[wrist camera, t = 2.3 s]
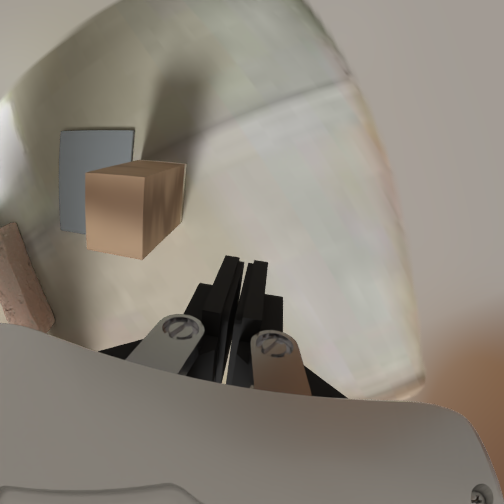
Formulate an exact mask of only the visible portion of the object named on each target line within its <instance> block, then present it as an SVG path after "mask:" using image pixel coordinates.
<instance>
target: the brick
mask: <svg viewBox="0 0 504 504" xmlns="http://www.w3.org/2000/svg"><path fill="white" fill-rule="evenodd" d="M0 303H1V304H2V307H3V311H4V314H5V316H6V319H7V321H8V323H9V324H15V325H20V326H25V327H28V328H32V329H35V330H38V331H41V332H44V333H47V332H48V331H49V330H50V328H51V326H52V325H53V324H54V322H55V319H54V316H53V313H52V311H51V308H50V306H49V304H48V303H47V301H46V296H45V295H44V294H43V290H42V288H41V286H40V283H39V281H38V278H37V276H36V274H35V271H34V269H33V267H32V265H31V262H30V259H29V256H28V254H27V252H26V248H25V245H24V242H23V240H22V238H21V235H20V232H19V229H18V226H17V224H16V223H14V222H13V223H9V224H8V225H5V226H3V227H1V228H0Z"/></svg>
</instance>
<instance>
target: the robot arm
mask: <svg viewBox="0 0 504 504" xmlns="http://www.w3.org/2000/svg"><path fill="white" fill-rule="evenodd" d="M267 267H268V262H263V261H257V260H254V264H252V263H248V267H247V271H246V275H245V279H244V283H243V287H242V291H241V295H240V289H241V282H242V275H243V268H244V262H240V261H239V258H238V257H232V256H225V258H224V260H223V263H222V265H221V267H220V270H219V272H218V274H217V277H216V279H215V281H214V283H213V285H209V284H203V283H200V284H199V285H198V287H197V289H196V291H195V293H194V295H193V297H192V299H191V301H190V303H189V305H188V307H187V308H186V310H185V312H184V314H174V315H169V316H167V317H164V318H163V319H162V320H160V321H159V322H158V323H157V325H156V326H155V327H154V328H153V329H152V330H151V331H150V332H149V334H148V335H147V336H146V337H145V338H144V339H142V340H138V341H135V342H131V343H127V344H124V345H120V346H116V347H113V348H109V349H105V350H101V351H98V352H97V351H94V350H91V349H88V348H85V347H82V346H80V345H77V344H74V343H71V342H69V341H66V340H63V339H60V338H58V337H55V336H52V335H49V334H46V333H44V332H41V331H38V330H35V329H32V328H28V327H25V326H20V325H15V324H6V323H0V504H504V499H503V496H502V492H501V489H500V485H499V482H498V479H497V476H496V474H495V471H494V468H493V466H492V463H491V460H490V458H489V455H488V453H487V451H486V449H485V447H484V445H483V443H482V441H481V439H480V437H479V435H478V433H477V432H476V430H475V429H474V427H473V426H472V424H471V423H470V422H469V421H468V420H467V419H466V418H465V417H464V416H463V415H461V414H459V413H458V412H456V411H453V410H451V409H448V408H445V407H441V406H438V405H434V404H427V403H422V402H412V401H393V400H369V399H348V398H347V397H345V396H344V395H343V394H341V393H340V392H339V391H337V390H336V389H335V388H333V387H332V386H331V385H329V384H328V383H327V382H325V381H324V380H322V379H321V378H320V377H319V376H317V375H316V374H315V373H313V372H312V371H311V370H309V369H308V368H307V367H305V366H304V365H303V361H302V357H301V354H300V350H299V347H298V344H297V342H296V341H295V340H294V339H293V338H292V337H291V336H289V335H288V334H286V333H283V297H280V296H274V295H267V294H265V286H266V277H267ZM239 296H240V299H239ZM231 341H232V343H231ZM230 345H231V351H230V358H229V366H228V373H227V381H226V384H221V383H222V379H223V375H224V371H225V367H226V362H227V358H228V354H229V350H230Z"/></svg>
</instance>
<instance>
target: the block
mask: <svg viewBox="0 0 504 504" xmlns="http://www.w3.org/2000/svg"><path fill="white" fill-rule="evenodd" d="M186 166H187V164H185V163H175V162H164V161H152V160H137V161H132V162H128V163H123V164H119V165H114V166H110V167H106V168H102V169H98V170H94V171H90V172H86V173H85V218H86V240H87V249H89V250H94V251H99V252H104V253H109V254H114V255H119V256H124V257H130V258H135V259H140V260H143V259H144V258H145V257H146V256H147V255H148V254H149V253H150V252H151V251H152V250H153V249H154V248H155V247H156V246H157V245H158V244H159V243H160V242H161V241H162V240H163V239H164V238H165V237H166V236H168V235H169V234H170V233H171V232H172V231H173V230H174V229H175V228H176V227H177V226H178V225H179V224H180V223H181V222H182V211H183V199H184V187H185V176H186Z"/></svg>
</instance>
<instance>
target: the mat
mask: <svg viewBox="0 0 504 504" xmlns="http://www.w3.org/2000/svg"><path fill="white" fill-rule="evenodd" d="M134 132H135V131H133V130H82V131H61V136H60V155H59V207H60V226H61V230H63V231H69V232H75V233H80V234H86V218H85V173H86V172H90V171H94V170H98V169H102V168H106V167H110V166H114V165H119V164H123V163H128V162H132V154H133V143H134Z"/></svg>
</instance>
